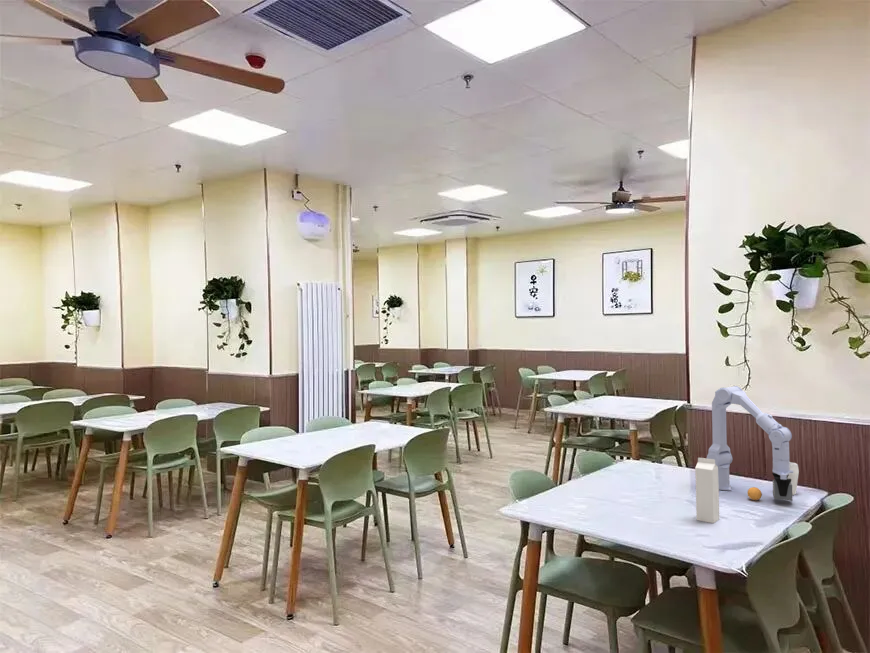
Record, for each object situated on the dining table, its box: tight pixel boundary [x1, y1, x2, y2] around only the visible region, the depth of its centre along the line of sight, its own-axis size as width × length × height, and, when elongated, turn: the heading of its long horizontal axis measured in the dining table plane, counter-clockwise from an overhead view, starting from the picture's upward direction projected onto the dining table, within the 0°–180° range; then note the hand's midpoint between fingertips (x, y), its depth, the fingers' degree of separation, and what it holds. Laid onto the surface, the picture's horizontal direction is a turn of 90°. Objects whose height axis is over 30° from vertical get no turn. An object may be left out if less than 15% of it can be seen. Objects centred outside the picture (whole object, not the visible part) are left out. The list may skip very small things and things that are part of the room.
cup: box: [787, 461, 800, 496], centre depth 248 cm, size 9×9×12 cm
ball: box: [747, 486, 763, 501], centre depth 239 cm, size 5×5×5 cm
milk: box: [694, 457, 720, 524], centre depth 217 cm, size 6×6×22 cm
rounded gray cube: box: [772, 479, 793, 501], centre depth 235 cm, size 6×6×6 cm
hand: (782, 493), depth 235 cm, fingers closed on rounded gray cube, 6 cm apart
